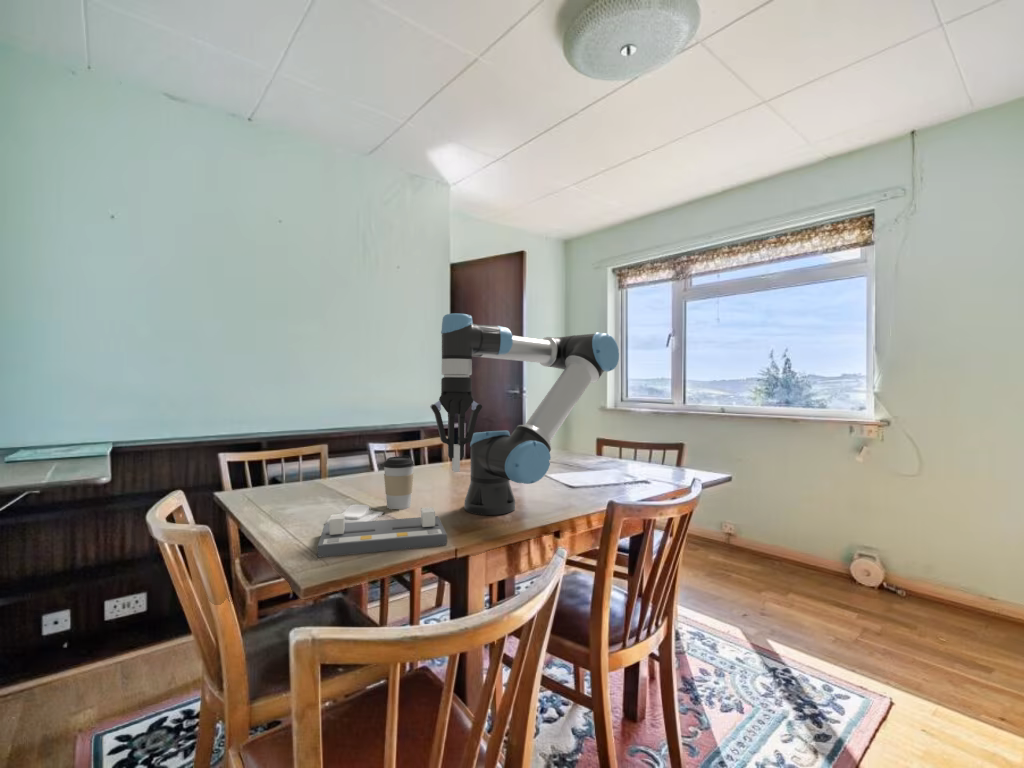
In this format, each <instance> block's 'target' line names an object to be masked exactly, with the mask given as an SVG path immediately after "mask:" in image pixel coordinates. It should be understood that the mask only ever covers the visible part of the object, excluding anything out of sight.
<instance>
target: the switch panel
mask: <svg viewBox="0 0 1024 768" xmlns="http://www.w3.org/2000/svg"><path fill="white" fill-rule="evenodd" d="M447 535H448V534H447V532H446V529H445V527H444V525H443V524H442V521H441V519H440V517H439V515H435V526H430V527H422V524H421V516H420V517H418V516H417V517H409V518H408V517H406V518H405V517H404V518H395V519H383V520H382V519H381V520H380V519H379V520H373V521H366V522H353V523H345V529H344V534H334V535H330V524H327V525H326V524H324V525H323V527H322V531H321V535H320V538H319V540H318V542H317V558H323V557H334V556H343V555H345V554H346V555H355V554H364V553H377V552H384V551H385V552H386V551H387V552H388V551H397V550H407V549H417V548H429V547H438V546H437V545H440V546H447V545H448V544H447V543H448V542H447V541H448V539H447V538H448V537H447ZM446 544H447V545H446ZM346 555H345V556H346Z"/></svg>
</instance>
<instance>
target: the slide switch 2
mask: <svg viewBox="0 0 1024 768" xmlns="http://www.w3.org/2000/svg"><path fill="white" fill-rule="evenodd" d="M435 516H436V511H435V509H434V507H433V506H432V507H421V508H420V517H421V524H422V527H430V526H435Z"/></svg>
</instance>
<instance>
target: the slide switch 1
mask: <svg viewBox="0 0 1024 768" xmlns="http://www.w3.org/2000/svg"><path fill="white" fill-rule="evenodd" d="M329 519H330V535H334V534H344V529H345V514H341V513H339V514H338V513H336V514H335V513H334V514H330V517H329Z"/></svg>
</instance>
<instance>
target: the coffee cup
mask: <svg viewBox="0 0 1024 768" xmlns="http://www.w3.org/2000/svg"><path fill="white" fill-rule="evenodd" d="M382 466H383V469H384V471H383V472H384V473H383V476H384V477H383V478H384V488H385V497H386V508H387V509H388V508H389V509H388V510H392V509H402V510H407V509H410V508H411V504H412V503H411V502H412V493H413V482H414V466H415V464H414V460H413V459H412V458H411V457H410V456H409V455H406V454H404V455H401V456H398V455H397V456H390V457H387V459H386V460H385V461H384V462H383V465H382ZM406 508H407V509H406Z"/></svg>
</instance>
